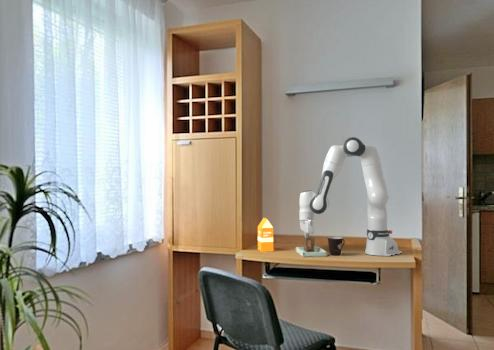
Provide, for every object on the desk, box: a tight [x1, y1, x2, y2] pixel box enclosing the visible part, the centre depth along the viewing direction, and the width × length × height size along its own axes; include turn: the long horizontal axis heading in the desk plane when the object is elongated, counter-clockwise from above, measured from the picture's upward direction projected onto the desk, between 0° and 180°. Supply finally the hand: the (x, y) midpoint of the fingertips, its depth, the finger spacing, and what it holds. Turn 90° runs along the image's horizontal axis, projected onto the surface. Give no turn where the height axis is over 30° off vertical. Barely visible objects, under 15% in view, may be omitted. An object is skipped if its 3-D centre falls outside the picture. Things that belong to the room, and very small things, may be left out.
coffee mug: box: [327, 236, 346, 257], centre depth 247 cm, size 12×9×10 cm
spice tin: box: [303, 237, 316, 252], centre depth 255 cm, size 5×5×8 cm
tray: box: [295, 246, 328, 258], centre depth 251 cm, size 14×19×2 cm
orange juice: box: [257, 217, 274, 253], centre depth 262 cm, size 8×9×20 cm
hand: (306, 239), depth 262 cm, fingers closed
